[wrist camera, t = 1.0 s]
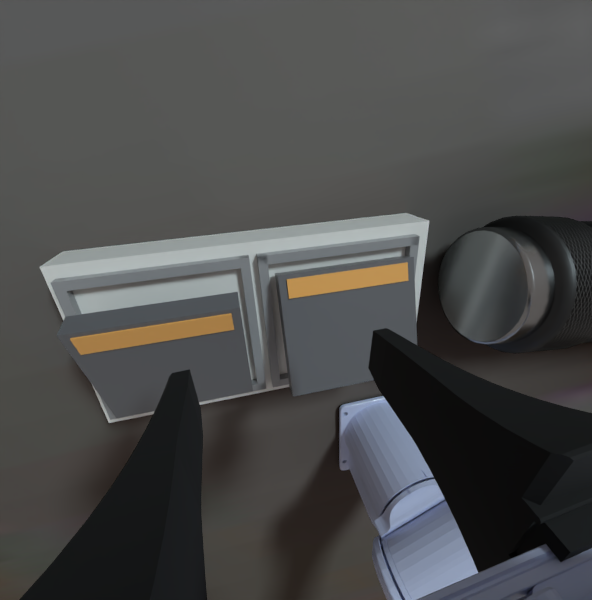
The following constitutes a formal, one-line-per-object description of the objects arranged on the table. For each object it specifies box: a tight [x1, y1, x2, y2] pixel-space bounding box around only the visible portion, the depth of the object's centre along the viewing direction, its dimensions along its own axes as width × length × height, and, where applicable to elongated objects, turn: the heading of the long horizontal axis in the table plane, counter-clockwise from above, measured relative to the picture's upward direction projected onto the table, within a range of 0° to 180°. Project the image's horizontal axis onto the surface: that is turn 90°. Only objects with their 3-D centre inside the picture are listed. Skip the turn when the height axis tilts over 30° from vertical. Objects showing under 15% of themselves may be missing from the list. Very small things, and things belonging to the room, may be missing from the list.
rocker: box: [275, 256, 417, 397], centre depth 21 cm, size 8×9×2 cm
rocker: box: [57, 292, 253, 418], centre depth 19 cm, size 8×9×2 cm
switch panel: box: [40, 213, 429, 423], centre depth 23 cm, size 12×24×4 cm, turn 94°
